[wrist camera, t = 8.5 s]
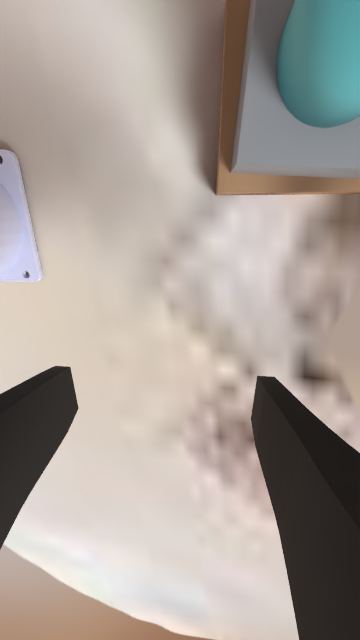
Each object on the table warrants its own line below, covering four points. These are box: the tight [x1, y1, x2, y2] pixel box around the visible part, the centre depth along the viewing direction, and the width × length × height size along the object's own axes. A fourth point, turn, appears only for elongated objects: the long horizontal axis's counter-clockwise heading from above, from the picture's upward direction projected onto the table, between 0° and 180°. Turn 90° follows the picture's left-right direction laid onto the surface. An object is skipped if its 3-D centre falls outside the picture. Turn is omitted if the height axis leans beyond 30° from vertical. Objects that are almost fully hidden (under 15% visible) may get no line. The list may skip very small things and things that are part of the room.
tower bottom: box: [216, 0, 360, 195], centre depth 13 cm, size 8×8×2 cm
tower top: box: [230, 0, 360, 179], centre depth 10 cm, size 6×6×2 cm
